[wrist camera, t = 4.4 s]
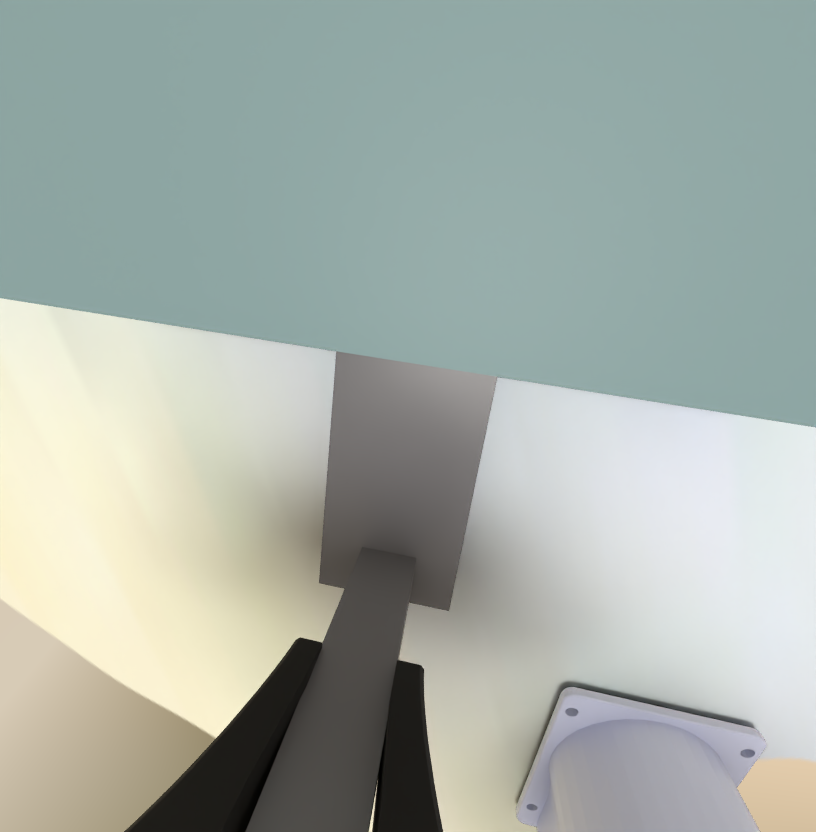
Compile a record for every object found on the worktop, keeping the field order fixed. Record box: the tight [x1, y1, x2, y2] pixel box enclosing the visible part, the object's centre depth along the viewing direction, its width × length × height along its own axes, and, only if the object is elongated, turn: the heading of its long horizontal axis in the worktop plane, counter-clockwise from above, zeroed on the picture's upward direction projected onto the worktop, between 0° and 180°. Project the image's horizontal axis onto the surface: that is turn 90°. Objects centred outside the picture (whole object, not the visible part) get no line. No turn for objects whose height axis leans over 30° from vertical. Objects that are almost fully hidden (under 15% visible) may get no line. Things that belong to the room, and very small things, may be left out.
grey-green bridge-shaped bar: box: [0, 0, 816, 427], centre depth 9 cm, size 7×20×4 cm, turn 83°
